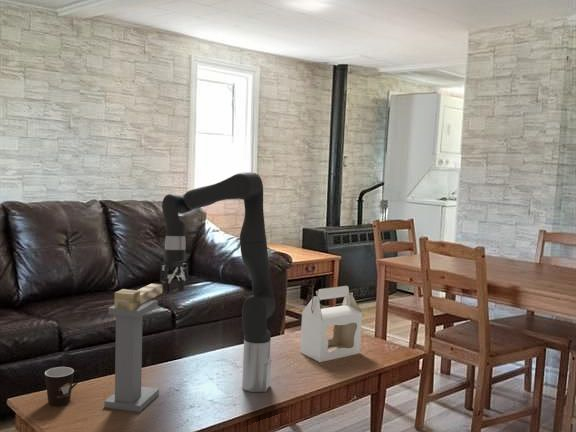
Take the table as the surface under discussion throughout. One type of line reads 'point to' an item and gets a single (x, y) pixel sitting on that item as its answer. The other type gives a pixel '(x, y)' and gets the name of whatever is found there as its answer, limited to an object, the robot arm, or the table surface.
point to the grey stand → (130, 360)
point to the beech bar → (136, 296)
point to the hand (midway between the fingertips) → (174, 292)
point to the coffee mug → (60, 385)
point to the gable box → (321, 319)
